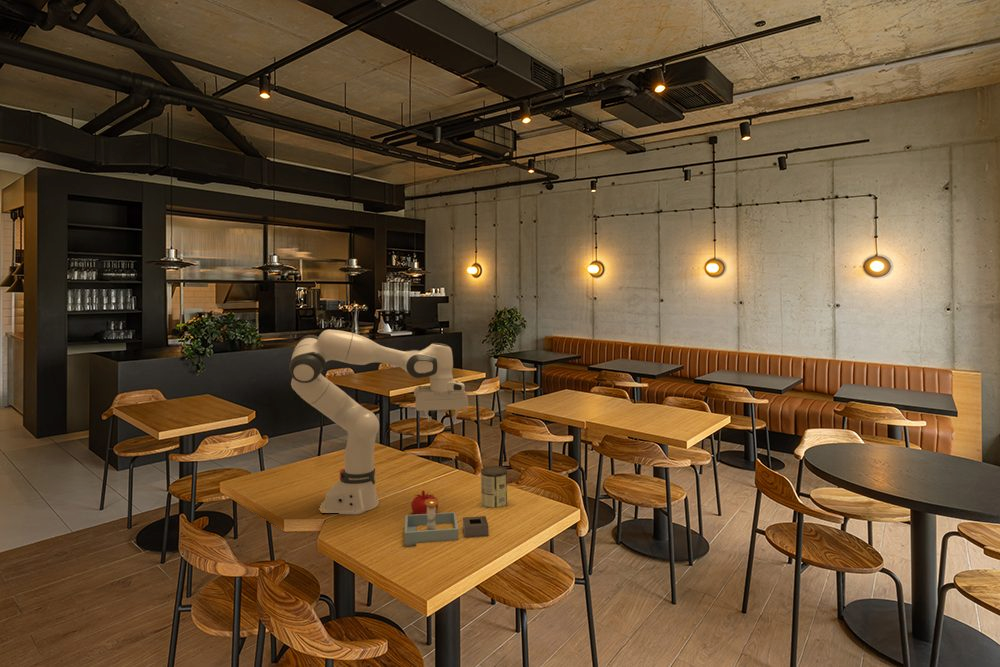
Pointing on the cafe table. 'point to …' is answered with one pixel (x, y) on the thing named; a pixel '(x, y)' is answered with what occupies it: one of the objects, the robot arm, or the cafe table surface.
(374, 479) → the robot arm
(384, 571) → the cafe table surface
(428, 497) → the red round piece
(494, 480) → the coffee can
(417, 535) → the tray
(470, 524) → the dark grey socket block
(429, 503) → the lock pin
